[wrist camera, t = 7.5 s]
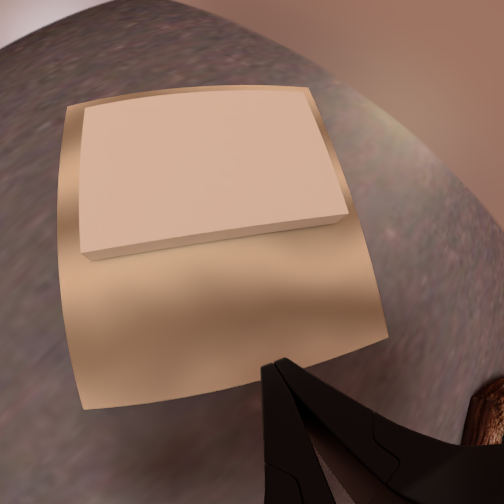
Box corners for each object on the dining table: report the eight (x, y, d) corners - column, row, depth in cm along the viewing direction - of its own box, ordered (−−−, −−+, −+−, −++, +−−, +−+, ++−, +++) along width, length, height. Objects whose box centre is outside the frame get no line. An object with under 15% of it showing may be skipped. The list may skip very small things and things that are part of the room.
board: (381, 337, 18) (388, 337, 17) (87, 406, 13) (83, 409, 12) (304, 93, 22) (308, 87, 21) (69, 113, 17) (67, 106, 16)
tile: (348, 213, 16) (303, 92, 18) (80, 253, 12) (84, 107, 14) (333, 224, 18) (294, 108, 20) (91, 262, 14) (91, 126, 16)
